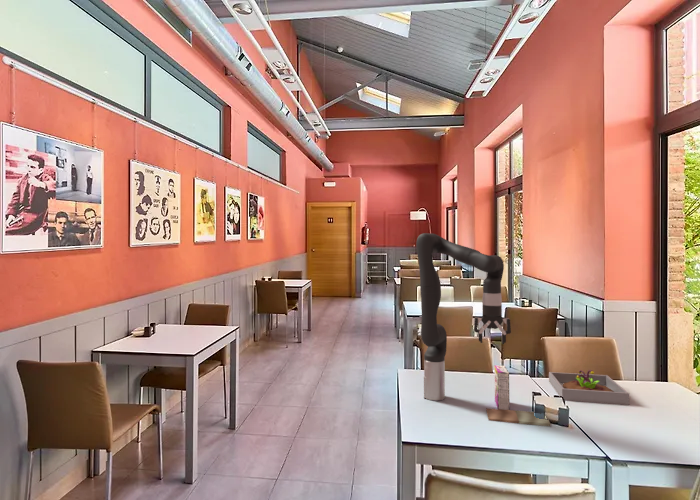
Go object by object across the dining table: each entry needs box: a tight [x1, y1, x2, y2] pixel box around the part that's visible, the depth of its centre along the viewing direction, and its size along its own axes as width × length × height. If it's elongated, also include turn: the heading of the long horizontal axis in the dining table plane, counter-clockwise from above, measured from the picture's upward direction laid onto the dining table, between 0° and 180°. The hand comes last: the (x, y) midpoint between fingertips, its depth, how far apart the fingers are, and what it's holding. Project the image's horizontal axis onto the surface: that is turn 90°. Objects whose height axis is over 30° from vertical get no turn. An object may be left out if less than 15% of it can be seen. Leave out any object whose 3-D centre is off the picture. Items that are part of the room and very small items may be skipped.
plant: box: [562, 369, 614, 392], centre depth 202 cm, size 20×20×11 cm
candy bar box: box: [493, 364, 511, 410], centre depth 185 cm, size 11×5×16 cm, turn 168°
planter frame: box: [548, 371, 630, 406], centre depth 201 cm, size 27×27×5 cm
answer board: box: [485, 408, 551, 427], centre depth 172 cm, size 23×11×2 cm, turn 76°
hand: (492, 343), depth 174 cm, fingers open, 8 cm apart
